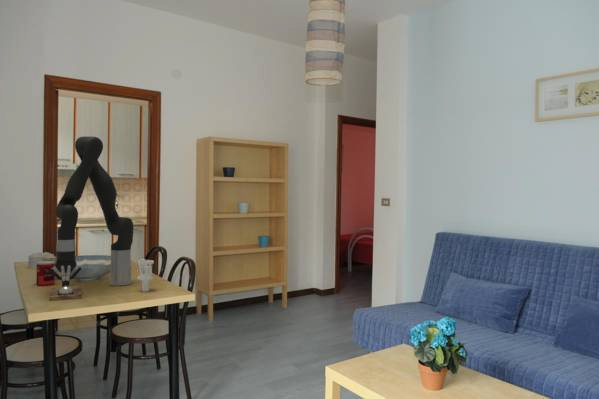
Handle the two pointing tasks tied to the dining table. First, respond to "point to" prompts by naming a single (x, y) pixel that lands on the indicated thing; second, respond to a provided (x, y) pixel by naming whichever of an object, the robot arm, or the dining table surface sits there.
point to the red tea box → (50, 259)
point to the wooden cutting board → (56, 296)
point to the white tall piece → (145, 273)
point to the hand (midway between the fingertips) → (65, 288)
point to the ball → (65, 290)
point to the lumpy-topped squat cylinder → (36, 259)
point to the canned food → (45, 273)
